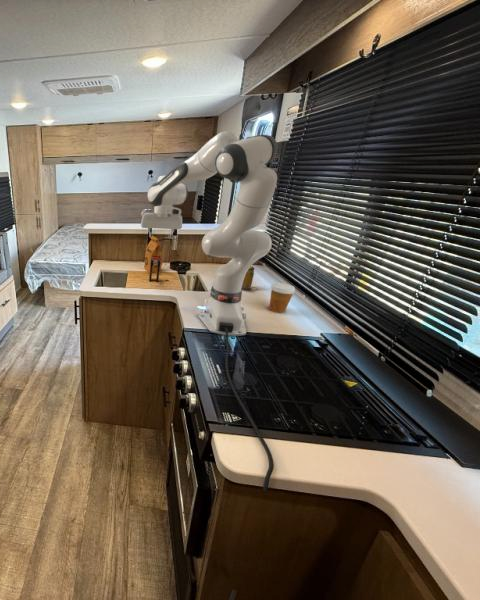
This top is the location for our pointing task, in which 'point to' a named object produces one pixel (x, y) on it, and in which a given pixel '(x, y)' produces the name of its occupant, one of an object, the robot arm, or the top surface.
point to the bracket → (157, 270)
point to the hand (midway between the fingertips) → (159, 237)
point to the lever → (156, 260)
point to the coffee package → (153, 254)
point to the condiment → (248, 280)
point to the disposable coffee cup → (280, 296)
